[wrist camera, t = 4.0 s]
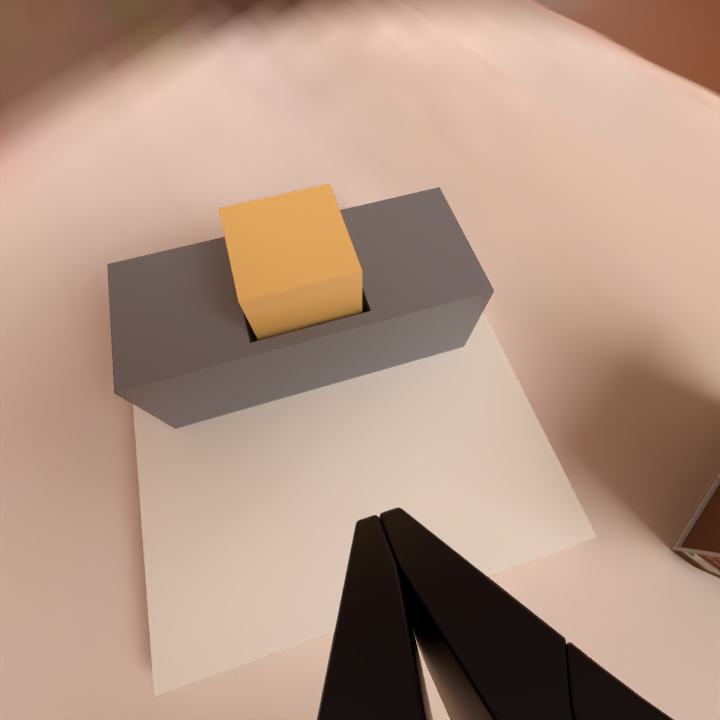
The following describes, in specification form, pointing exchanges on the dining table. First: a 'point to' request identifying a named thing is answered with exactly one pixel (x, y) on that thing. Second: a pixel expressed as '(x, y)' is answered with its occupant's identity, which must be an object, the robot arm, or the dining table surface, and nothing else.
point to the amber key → (292, 261)
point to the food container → (703, 534)
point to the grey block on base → (320, 436)
